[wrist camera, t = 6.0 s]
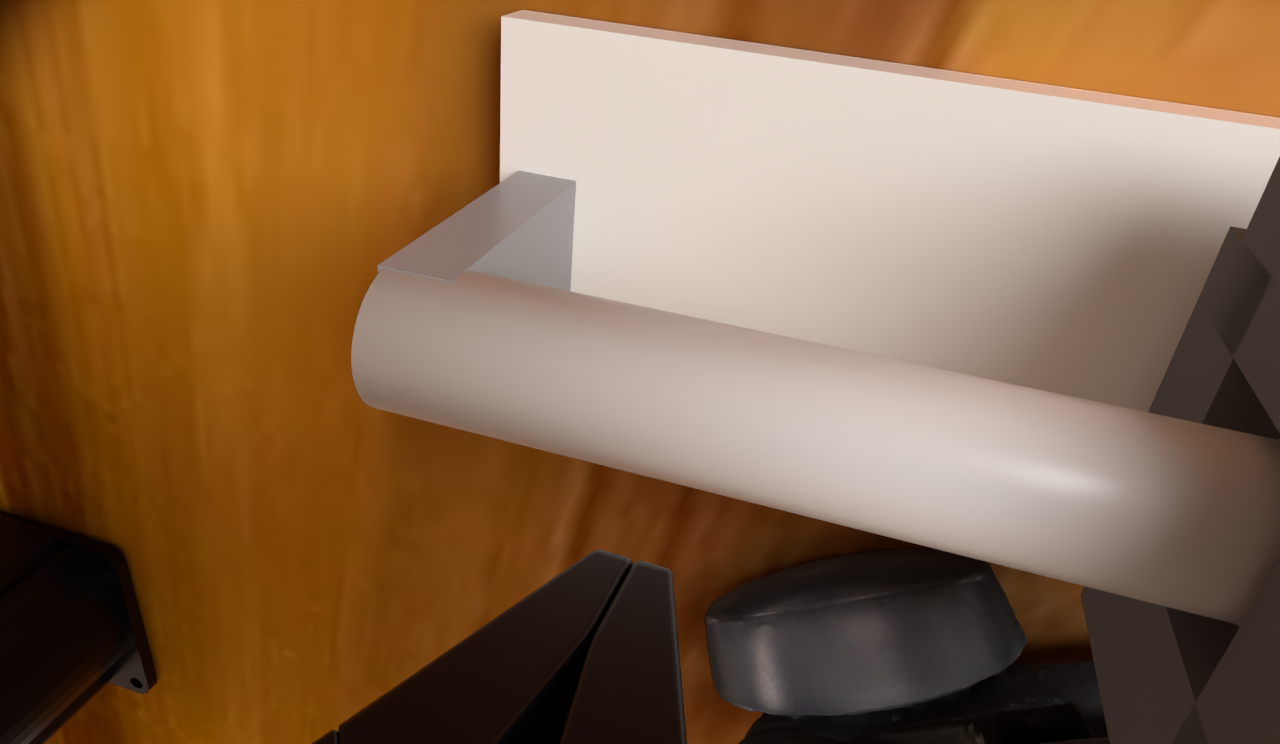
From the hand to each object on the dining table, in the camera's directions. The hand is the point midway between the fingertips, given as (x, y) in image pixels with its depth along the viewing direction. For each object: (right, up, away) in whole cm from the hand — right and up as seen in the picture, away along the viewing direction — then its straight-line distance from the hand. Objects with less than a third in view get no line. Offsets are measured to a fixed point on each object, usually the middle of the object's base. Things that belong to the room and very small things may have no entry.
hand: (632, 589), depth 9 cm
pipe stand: (+7, +4, +8) cm, 11 cm away
